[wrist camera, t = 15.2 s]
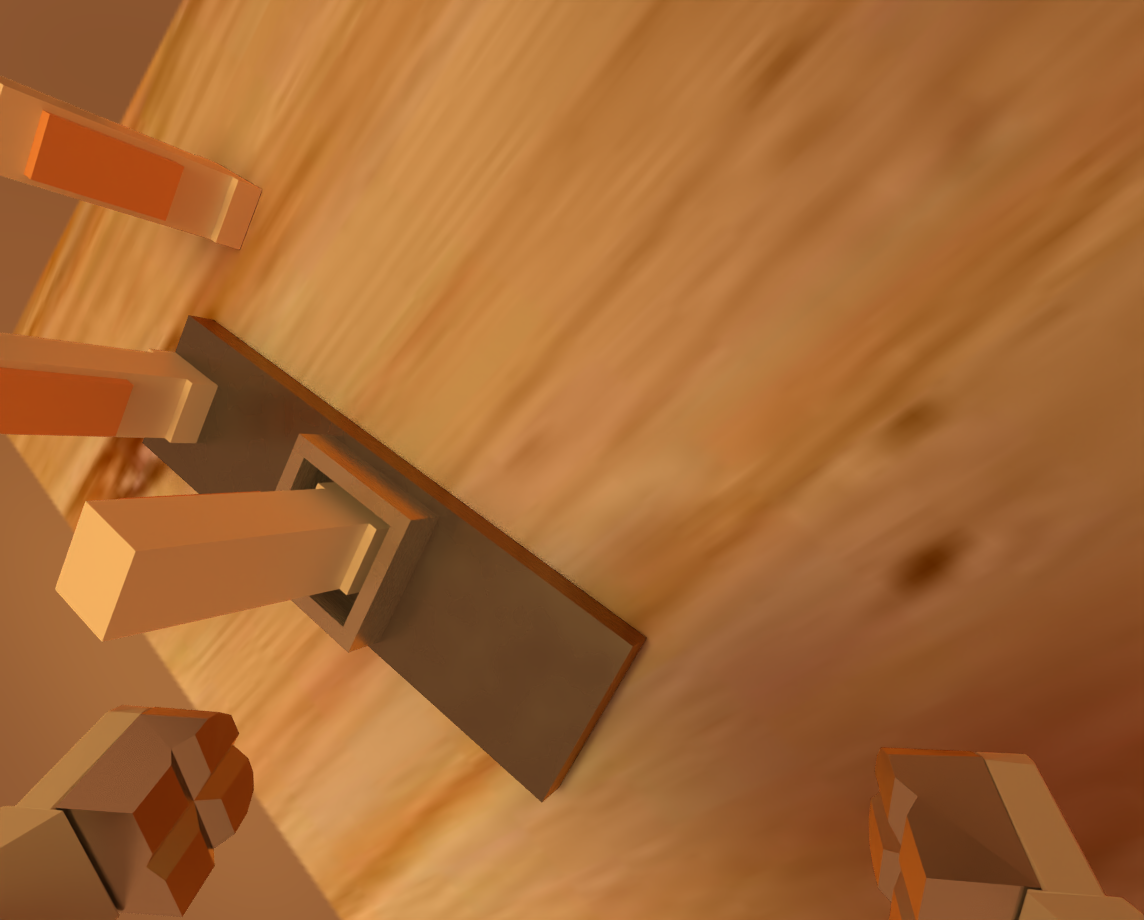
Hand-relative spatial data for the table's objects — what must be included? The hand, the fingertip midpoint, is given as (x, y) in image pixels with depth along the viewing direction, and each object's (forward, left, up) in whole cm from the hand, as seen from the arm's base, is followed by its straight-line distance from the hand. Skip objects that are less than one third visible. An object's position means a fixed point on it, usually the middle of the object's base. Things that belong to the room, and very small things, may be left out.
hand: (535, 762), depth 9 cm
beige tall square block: (+10, -17, -18) cm, 27 cm away
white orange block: (0, -35, -20) cm, 41 cm away
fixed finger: (+10, -31, -18) cm, 38 cm away
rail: (+10, -18, -20) cm, 29 cm away
